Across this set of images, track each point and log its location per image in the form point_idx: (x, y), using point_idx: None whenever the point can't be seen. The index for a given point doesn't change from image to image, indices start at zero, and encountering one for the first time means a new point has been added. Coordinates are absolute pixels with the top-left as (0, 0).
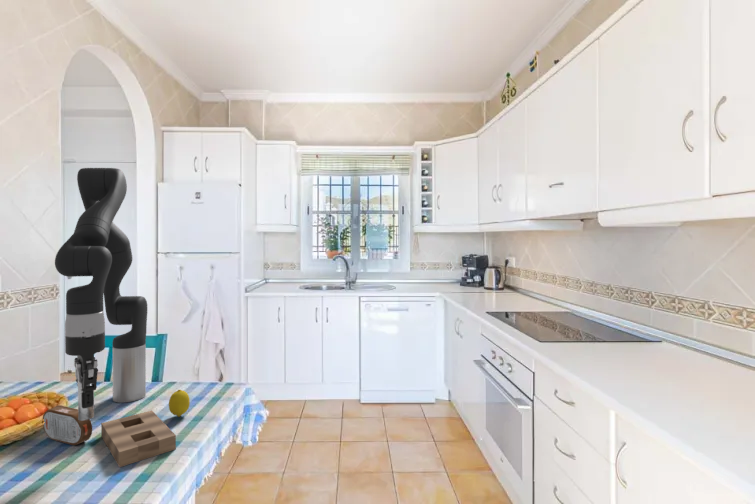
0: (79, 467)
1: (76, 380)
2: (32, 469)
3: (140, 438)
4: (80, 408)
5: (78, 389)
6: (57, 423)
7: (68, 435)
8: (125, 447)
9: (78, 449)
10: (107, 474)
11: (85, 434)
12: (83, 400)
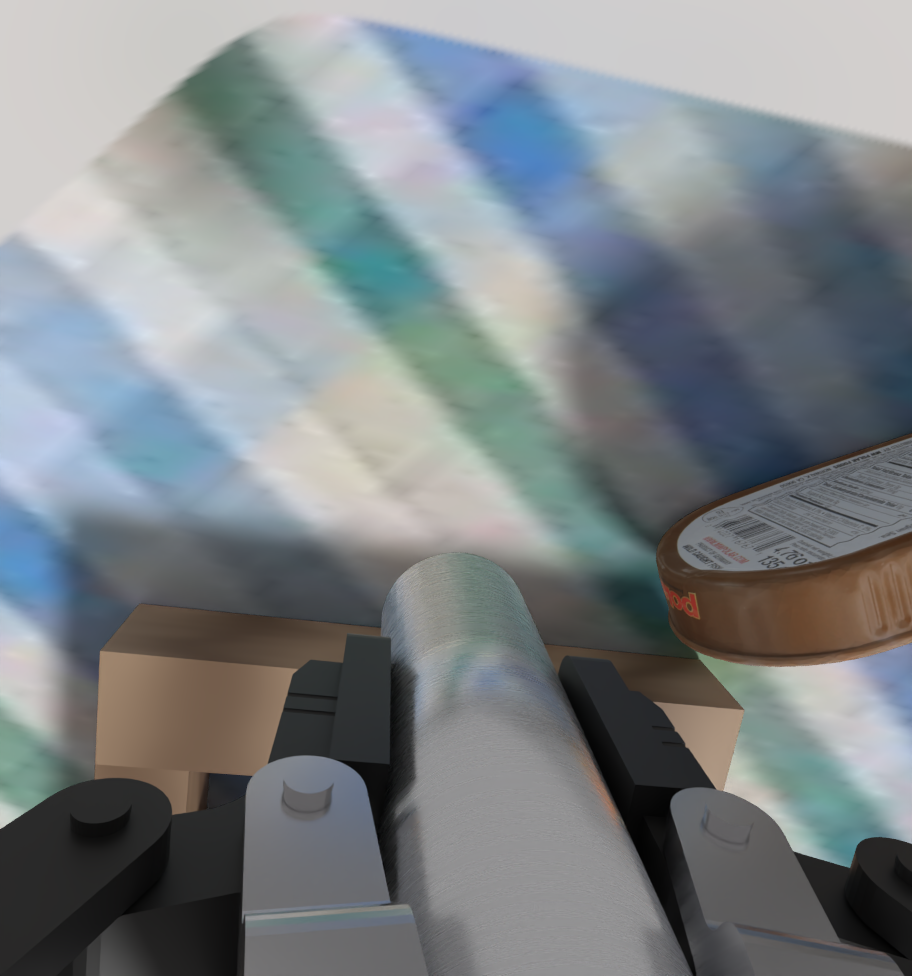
0: (344, 436)
1: (906, 868)
2: (566, 220)
3: None
4: (426, 617)
5: (502, 763)
6: None
7: (795, 500)
8: (150, 701)
9: (624, 505)
10: (100, 526)
11: (661, 579)
12: (337, 698)
